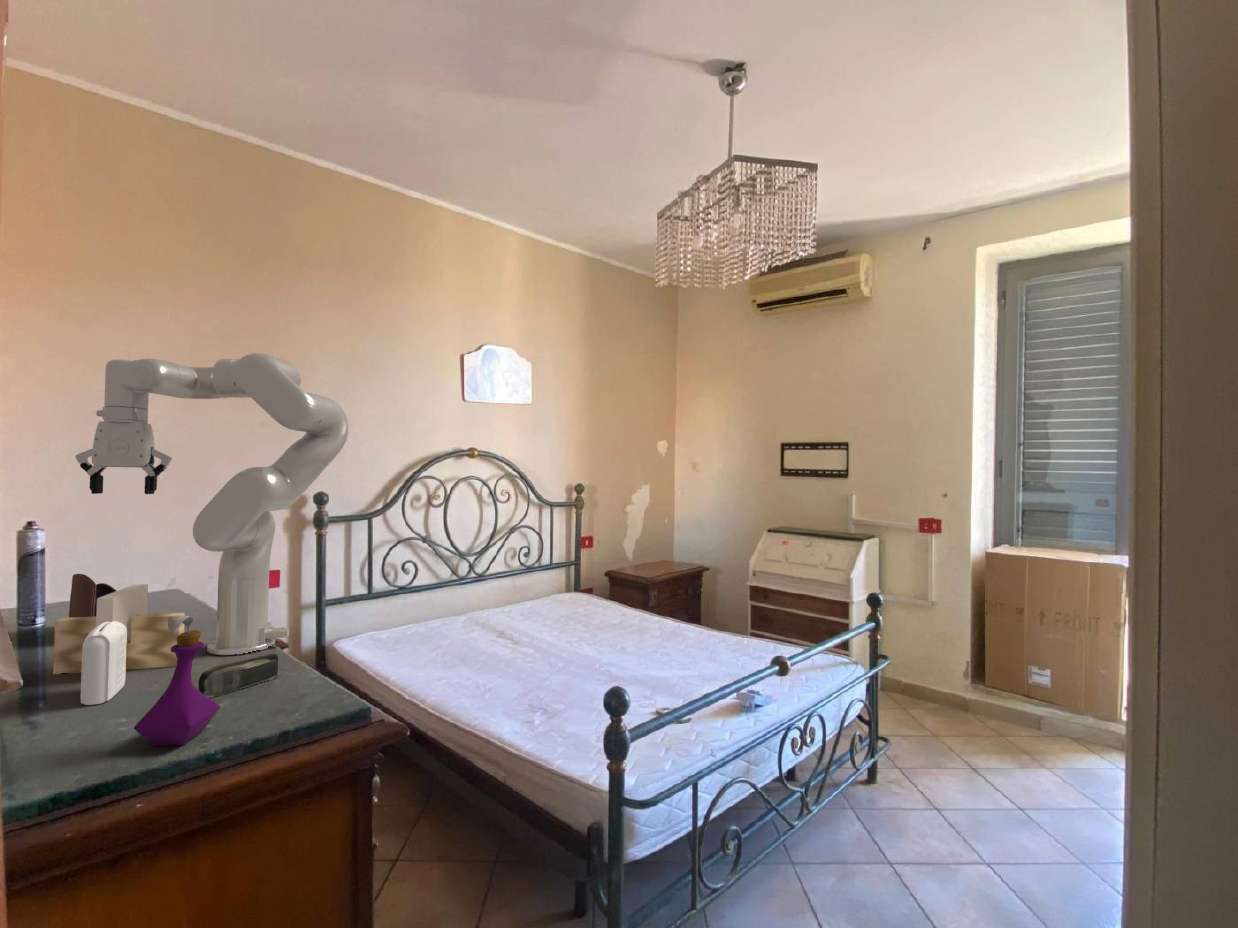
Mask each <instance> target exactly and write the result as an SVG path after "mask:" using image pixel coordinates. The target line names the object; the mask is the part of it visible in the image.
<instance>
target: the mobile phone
mask: <svg viewBox="0 0 1238 928" xmlns="http://www.w3.org/2000/svg"><path fill="white" fill-rule="evenodd" d="M278 673H279V655H278V654H276V653H269V654H264V655H259V656H256V657H250V658H246V659H242V660H238V661H232V662H227V663H224V664H220V665H216V666H214V667H212V668H209V669H207V670H205V671H203V672H202V673H201V674H200V676H199V678H198V690H199V691H200V692H201V693H202V694H203V695H205V696H206V697H208V698H209V699H213V698H216V697H221V696H224V695H227V694H230V693H233V692H236V691H240V690H243V689H242V688H244V689H247V688H250V687H249V686H251V687H253V686H252V685H254V686H256V685H255V684H257V683H259V682H261V681H265V680H268V679H270V678H272V677H274V676H276V675H277V674H278ZM277 676H278V675H277ZM257 685H258V684H257ZM246 687H247V688H246ZM239 689H240V690H239Z"/></svg>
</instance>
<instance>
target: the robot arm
mask: <svg viewBox="0 0 1238 928" xmlns="http://www.w3.org/2000/svg"><path fill="white" fill-rule="evenodd" d="M104 374H105V377H104V380H105V381H104V399H103V400H104V404H103V406H104V407H102V409H100V410H96V417H101V418H102V421H100V420H98V422H97V424H96V430H95V432H94V436H93V443H92V448H90V449H87V450H86V451H82V452H80V453H77V454H76V455H75V459H76V461H77V462H78V464H79V465H80V468H81V469H82V470H84V472H86V474H87V475H88V476H89V490H90V493H91V494H92V495H98V494H102V493H104V492H103V491H104V475H101V474H102V473H103V472H104V471H105V470H106V469H107V468H141V469H142V470H143V471H144V472H145V473H146V474H147V475H146V476H145V477H144V495H153V494H155V491H157V488H158V477H159V476H160V475H161V473H163V472H164V471H165V470H166V469H168V466H169V465H170V463H171V461H172V460H173V458H172V456H170V455H168V454H165V453H164V452H162V451H159V450H157V449H156V448H155V447H156V446H155V438H154V432H153V427H152V424H151V423H148V421H149V419H148V418H149V397H150V396H149V395H150V394H155V395H161V396H166V397H172V398H178V399H189V400H190V399H193V400H194V399H195V400H196V399H197V400H198V399H199V400H201V399H203V400H214V399H215V400H218V399H227V398H228V399H229V398H239V399H240V398H241V399H242V398H247V399H248V398H250V399H252V400H253V401H254V402H255V403H256V404H257V405H258V406H259V407H260V408H261V409H263V410H264V412H265V413H267V414H268V415H269V416H270V417H271V418H272V419H274V421H275V422H276V423H278V424H279V425H281V426H283V427H284V428H286V429H289V430H291V431H295V432H296V431H297V432H304V433H305V434H304V435H303V436H301V438H299V439H298V440H296V441H294V442H293V443H291V445H290V446H288V448H287V449H286V450H285V451H284V452H283V453H282V454H281V455H280V456H279V458H277V460H275V462H273V463H272V464H271V465H268V466H254V467H249V468H246V469H243V470H241V471H239V472H238V473H236V474H235V475H233V477H231V478H230V479H229V480H228V481H227V482H226V483H225V484H224V485H223V486H222V487H221V489H220V490H219V491H218V492H217V493H216V494H215V495H214V496H213V497H212V498H211V499H210V500H209V502H208V503H207V504H206V505H205V506H204V507H203V508H202V510H201V511H200V512H199V513H198V515H197V516H196V518H195V520H194V522H193V525H192V537H193V539H194V542H195V543H196V545H198V546H199V548H202V549H203V550H206V551H209V552H214V553H215V552H216V553H217V552H219V553H220V552H222V554H221V555H220V556H221V557H220V561H219V564H218V565H219V567H218V575H217V576H218V578H217V581H218V582H217V605H216V606H217V608H216V636H215V637H216V640H214V641H212V642H210V643H209V644H208V645H206V646H207V647H206V648H207V650H206V651H207V652H208V653H209V654H211V655H217V656H218V655H219V656H234V655H235V654H236V655H244V654H243V653H245V654H249V653H248V652H251V653H253V652H252V651H256V650H260V651H263V650H264V651H265V650H266V649H269V648H268V646H271V647H273V646H274V645H275V644H276V639H278V638H279V639H285V638H288V637H289V634H290V628H286V627H276V628H275V627H273V626H272V623H273V622H272V621H269V591H270V567H271V566H270V565H271V552H272V546H273V542H274V538H275V537H274V536H275V531H276V521H275V518H274V515H273V514H272V512H274V511H281V510H286V509H288V508H290V507H292V506H293V505H294V504H295V503H297V501H298V500H299V499H300V497H302V496H303V494H304V493H305V491H307V490H308V489H309V488H310V486H311V485H312V484H313V483H314V481H316V480H317V479H318V477H320V475H321V473H322V472H323V471H324V470H326V468H327V467H328V466H329V464H331V463H332V462H333V460H334V459H335V458H336V457H337V456H338V455H339V454H340V452H341V451H342V449H343V448H344V446H345V444H346V442H347V439H348V435H349V421H348V418H347V415H346V413H345V411H344V409H343V408H342V406H341V405H340V404H339V403H338V402H336V401H335V400H333V399H331V398H329V397H327V396H324V395H321V394H316V393H311V392H308V391H305V390H303V389H302V387H300V386H301V383H302V381H301V380H302V379H301V374H300V373H299V370H298V368H296V367H295V365H293V364H292V363H290V362H289V361H286V360H284V359H282V358H278V357H275V356H273V355H269V354H266V353H262V352H254V353H249V354H246V355H244V356H242V357H241V358H240V359H239V358H222V359H219V360H217V361H216V362H215V364H213V367H212V366H211V367H207V366H197V367H196V366H187V365H182V364H178V363H174V362H170V361H165V360H161V359H157V358H141V359H136V360H135V359H134V360H129V359H128V360H127V359H111V360H109V361H108V362H107V363H106V364H105V373H104ZM89 458H91V463H92V464H91V463H90V462H89V460H88V459H89ZM156 458H157V459H159V460H160V462H159V464H158V465H157V466H154V465H155V461H156ZM272 645H273V646H272ZM256 652H257V651H256Z"/></svg>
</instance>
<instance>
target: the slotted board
mask: <svg viewBox="0 0 1238 928" xmlns="http://www.w3.org/2000/svg"><path fill="white" fill-rule="evenodd" d="M173 616H186V612H174V613H173V612H172V613H171V612H170V613H150V614H148V613H147V614H144V615H136V616H134V617H132V618H131V641H130V642H129V643H127V645H126V671H127V670H139V669H142V670H143V669H157V668H158V669H159V668H170V667H171V668H172V667H173V668H174V667H175V668H176V665H177V657H176V654H175V653H174V652H171V650H170V649H171V647H172V646H174V645H176V644H177V639H176V637H177V636H178V635H180V634H181V633H184V632H185V624H183V623H181V624H180V625H179V627H178V628H177V629H176V630H175V631H174V633H171V632H170V631H169V629H168V618H169V617H173ZM95 627H96V617H74V618H69V617H62V618H59V619H57V620H55V621H54V643H53V672H52V674H53V675H62V674H61V673H68V674H81V672H82V649H83V643H84V640H85V638H86V637H87V636H88V634H89V633H90V632H91V631H92V630H93V629H94V628H95Z"/></svg>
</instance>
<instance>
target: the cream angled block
mask: <svg viewBox="0 0 1238 928" xmlns="http://www.w3.org/2000/svg"><path fill="white" fill-rule="evenodd" d="M148 589H149V584H148V583H142V584H139V583H138V584H132V585H128V586H127V587H124V588H120V589H118V590H116V591H115V592H113V593H110V594H108V595H105V596H102V597H100V598H97V614H96V627H97V626H98V625H100V624H102V623H104V622H112V621H118V622H120V623H122V624H123V625H124V626H125V627H126V629H127V643H129V642H130V641H131V618H132V617H134V616H136V615H144V614H148V595H149V593H148V592H149V590H148Z"/></svg>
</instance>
